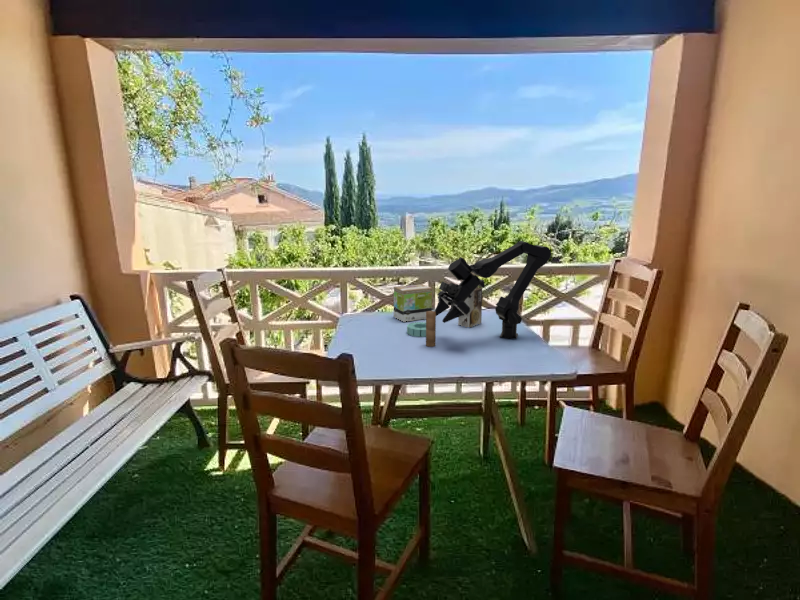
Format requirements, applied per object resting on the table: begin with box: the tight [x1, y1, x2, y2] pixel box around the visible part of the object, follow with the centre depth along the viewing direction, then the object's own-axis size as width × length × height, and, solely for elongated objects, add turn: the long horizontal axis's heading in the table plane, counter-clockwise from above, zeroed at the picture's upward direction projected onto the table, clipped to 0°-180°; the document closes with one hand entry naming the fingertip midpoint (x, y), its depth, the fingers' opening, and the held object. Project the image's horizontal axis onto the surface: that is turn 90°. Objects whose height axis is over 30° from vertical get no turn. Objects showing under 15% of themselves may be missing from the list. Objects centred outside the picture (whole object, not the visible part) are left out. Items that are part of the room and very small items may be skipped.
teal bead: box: [406, 321, 426, 338], centre depth 188 cm, size 11×11×3 cm
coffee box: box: [457, 286, 483, 328], centre depth 198 cm, size 9×6×16 cm
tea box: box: [393, 283, 433, 323], centre depth 210 cm, size 15×10×15 cm, turn 118°
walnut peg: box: [425, 310, 437, 348], centre depth 172 cm, size 4×4×13 cm
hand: (438, 318), depth 172 cm, fingers open, 9 cm apart
